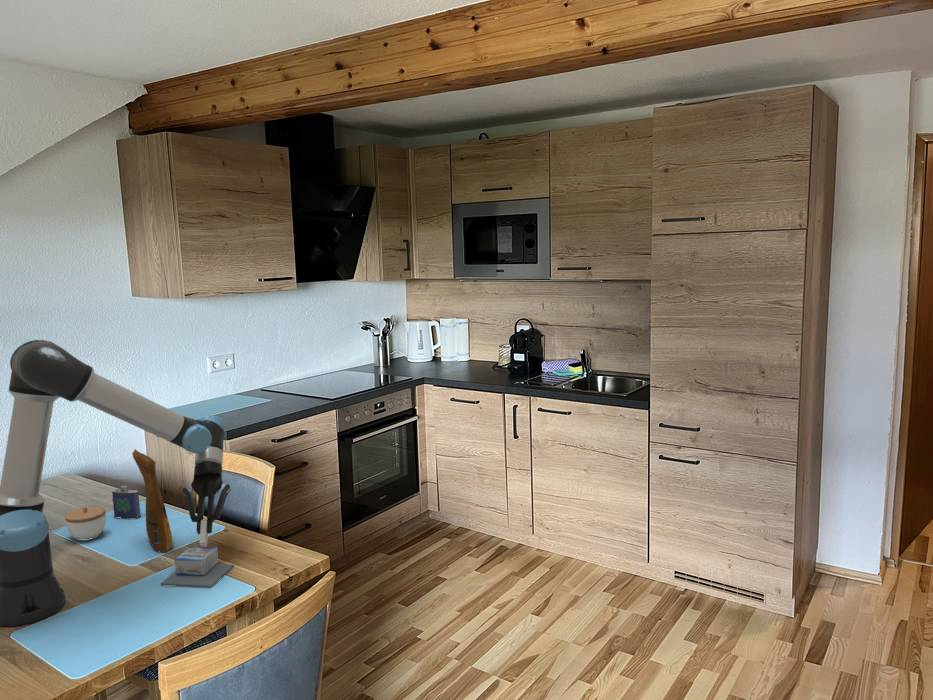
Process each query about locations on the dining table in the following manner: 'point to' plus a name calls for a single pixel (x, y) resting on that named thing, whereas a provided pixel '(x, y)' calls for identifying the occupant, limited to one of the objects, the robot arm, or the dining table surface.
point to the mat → (199, 577)
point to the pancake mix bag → (154, 505)
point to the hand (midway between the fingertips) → (203, 544)
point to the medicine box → (196, 561)
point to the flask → (126, 503)
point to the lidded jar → (86, 522)
